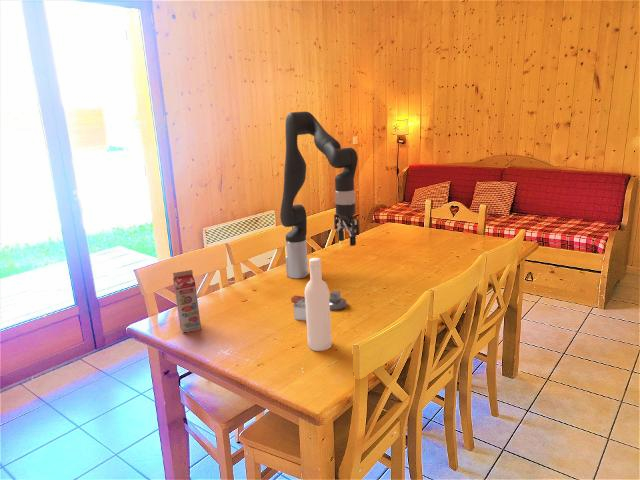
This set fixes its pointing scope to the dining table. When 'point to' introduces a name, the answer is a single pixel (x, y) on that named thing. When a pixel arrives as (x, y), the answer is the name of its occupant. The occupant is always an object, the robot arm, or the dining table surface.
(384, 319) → the dining table surface
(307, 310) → the bottle
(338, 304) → the ratchet
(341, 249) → the dining table surface
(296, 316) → the socket
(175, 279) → the juice carton
